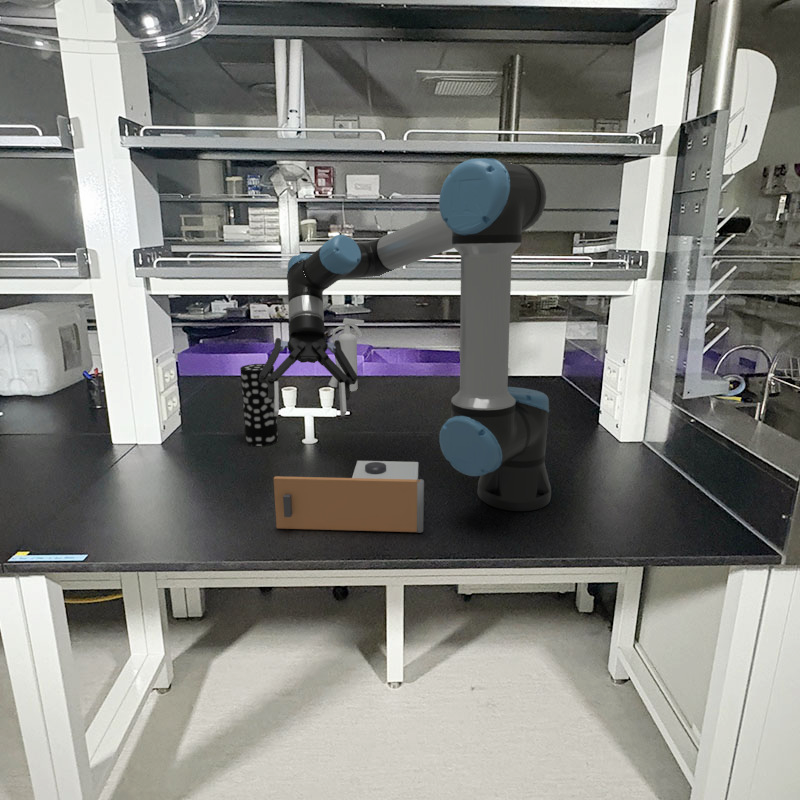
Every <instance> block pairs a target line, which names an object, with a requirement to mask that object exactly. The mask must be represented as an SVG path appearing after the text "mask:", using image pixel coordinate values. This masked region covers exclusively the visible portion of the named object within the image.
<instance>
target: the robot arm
mask: <svg viewBox="0 0 800 800" xmlns="http://www.w3.org/2000/svg"><path fill="white" fill-rule="evenodd" d="M438 200H439V202H438V205H439V206H438V208H439V213H435V214H433V215H430V216H429V217H425V218H424V219H421V220H419V221H417V222H415V223H412V224H410V225H407V226H405V227H402V228H400V229H397V230H395V231H393V232H391V233H388V234H385V235H383V236H382V237H379V238H376V239H375V240H374V239H373V240H371V241H368V242H356V241H355V240H354V239H353V238H351V237H348V236H347V235H346V234H337V235H335V236H333V237H332V238H330V239H329V240H327V241H326V242H324V244H322V245H321V246H320V247H319V248H318V249H317V250H316V251H314V253H312V254H311V253H299V254H298V255H296V254H295V255H293V256H292V257H290V259H289V260H288V262H287V273H286V280H287V297H288V298H287V299H288V322H289V324H288V328H289V329H288V331H289V334H288V335H289V337H288V338H289V340H288V341H287V340H282V339H281V338H279V337H277V338H275V341H274V346H273V350H272V351H271V353H270V354H269V357H268V359H267V360H266V362H265V363H264V364H265V365H264V367H263V369H262V371H261V373H260V375H259V382H261V383H263V382H264V383H266V384H267V385H268V398H269V399H274V416H277V417H279V413H280V403H279V401H280V400H279V398H280V397H279V379H280V378H281V377H282V376H283V375H284V374H285V373H286V371H288V370H289V369H290V367H292V365H294V364H295V363H296V361H298V362H300V363H311V364H315V363H317V362H318V363H319V364H320V365H321V366H323V367H324V368H325V369H326V370H327V371H328V373H330V374H331V375H332V376H334V377H335V378H336V379H337V380H338V384H339V383H340V386H339V385H338V392H339V393H338V396H339V411H340V412H339V414H340V417H345V416H346V413H347V411H348V410H347V401H349V400H350V398H351V392H350V385H351V384H355V383H356V381H357V380H359V379H358V378H359V377H358V374H357V375H356V373H355V371H354V370H353V368H352V366H351V365H350V363H349V361H348V360H347V358H346V356H345V355H344V353H343V351H342V350H341V345H340V341H338V339H337V340H336V339H335V342H334V343H333V342H328V341H326V332H325V322H324V321H325V316H324V314H325V313H324V299H323V298H324V297H323V295H324V294H323V293H324V291H325V290H327V289H328V288H330V287H331V286H332V285H334V284H335V283H336V282H338V281H340V280H349V279H350V280H351V279H358V278H359V279H361V278H372V277H373V276H374V277H375V276H380V275H382V274H384V273H386V272H389V271H392V270H394V269H395V270H396V269H399V268H401V267H404V266H408V265H411V264H414V263H416V262H419V261H422V260H424V259H427V258H430V257H432V256H435V255H438V254H441V253H444V252H446V251H449V250H452V249H455V250H456V251H457V253H458V254H459V255H460V311H459V312H460V317H459V318H460V321H459V322H460V323H459V325H460V326H459V327H460V334H459V337H460V338H459V340H460V341H459V342H460V343H459V348H460V349H459V351H460V353H459V390H458V392H457V393H456V394H455V395H453V396H452V397H451V400H450V401H451V402H450V403H451V405H450V407H451V411H450V413H451V414H450V418H448V419H447V420H446V421H445V422H444V424H442V426H441V428H440V431H439V437H438V439H439V445H440V450H441V453H442V455H443V457H444V458H445V459H446V461H448V462H449V463H450V466H451V467H452V468H453V469H455V470H456V471H457V472H459V473H461V474H463V475H466V476H469V477H479V479H478V482H477V496H478V498H479V499H480V500H481V501H482V502H483V503H485V504H487V505H488V506H491V507H494V508H497V509H500V510H503V511H504V510H505V511H510V512H511V511H512V512H530V511H531V512H532V511H536V510H540V509H543V508H544V507H546V506H548V505H549V503H550V502H551V498H552V487H551V484H550V480H549V479H550V478H549V476H548V471H547V468H546V464H545V462H546V449H547V448H546V447H547V437H548V426H549V423H548V422H549V413H550V405H549V404H550V402H549V401H550V399H549V397H548V396H547V394H546V393H544V392H542V391H539V390H535V389H530V388H525V387H524V388H523V387H517V386H514V387H513V386H508V384H509V383H508V382H509V381H508V380H509V356H510V355H509V350H510V349H509V347H510V346H509V345H510V320H511V318H510V314H511V287H512V285H511V282H512V259H513V254H514V252H515V251H516V250H518V248H519V247H520V246H521V245H522V233H523V232H524V231H526V230H528V229H530V228H531V227H533V226H534V225H535V224H536V223H537V222H538V221H539V220H540V218H541V216H542V215H543V214H544V213H543V212H544V210H545V208H546V203H547V190H546V187H545V184H544V181H543V180H542V178H541V177H540V175H539V174H538V173H537V172H536V171H535V170H534V169H532V168H530V167H528V166H527V165H524V164H519V163H512V162H507V161H502V160H498V159H496V158H492V157H491V158H485V157H484V158H471V159H468V160H465V161H463V162H461V163H459V164H457V165H456V166H454V168H453V169H452V171H451V172H450V173H449V174H448V175H447V177H446V178H445V180H444V182H443V184H442V186H441V190H440V193H439V199H438ZM303 271H304V272H303ZM304 274H305V275H304ZM305 276H306V277H305ZM285 349H288V351H289V353H290V354H289V355H288V356H287V357H286V358H285V359H284V360H283V362H282V363H281V364H279V365H278V367H277V368H276V369H274V372H273V373H272V374H271V375H270V376H268V374H269V372H270V370H271V369H272V367H273V366H274V365H275V364H276V361H277V359H278V357H279V355H280V352H283V351H284V350H285ZM327 350H329V351H330V352H331V354H333V355H334V359H335V358H336V359H337V361H338V365H339V364H340V366H341V368H342V369H343V371H344V373H345V374H346V375H345V374H344V373H343V372H342V371H341V369H340V368H339V367H338V366H337V365H336V362H334V361H333V360H332V359H331V358H330V356H329V354H328V353H327Z"/></svg>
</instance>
